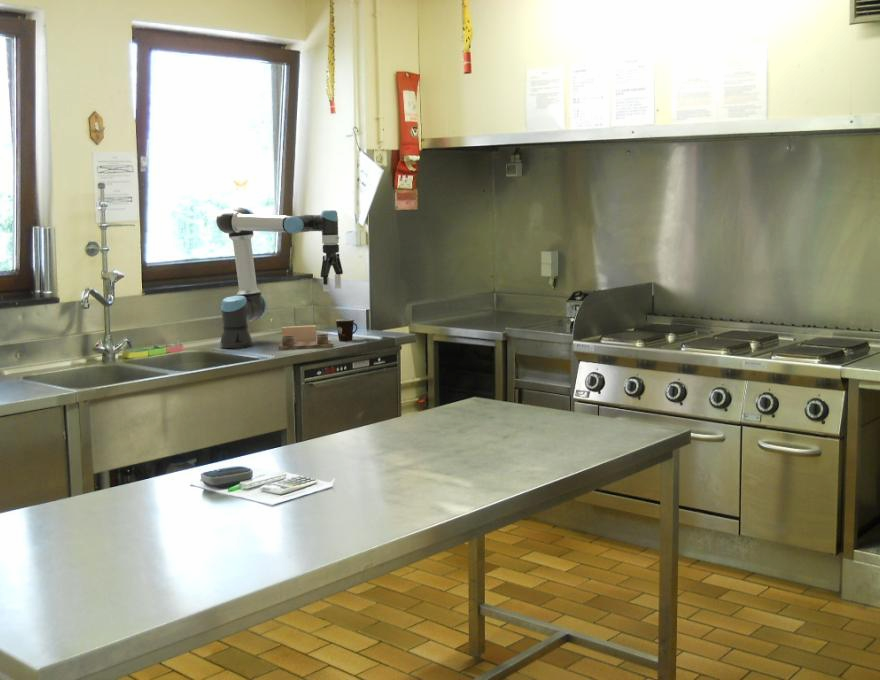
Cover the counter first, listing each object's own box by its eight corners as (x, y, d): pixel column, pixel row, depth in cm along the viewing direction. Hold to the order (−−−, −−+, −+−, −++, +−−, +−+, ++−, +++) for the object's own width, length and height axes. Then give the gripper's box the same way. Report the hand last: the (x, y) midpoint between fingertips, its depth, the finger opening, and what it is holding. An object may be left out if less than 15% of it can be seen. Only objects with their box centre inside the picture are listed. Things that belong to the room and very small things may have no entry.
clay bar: (282, 344, 489) (282, 327, 488) (283, 343, 492) (282, 326, 490) (316, 342, 491) (315, 326, 489) (316, 341, 494) (315, 325, 492)
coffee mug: (334, 340, 496) (333, 319, 494) (351, 338, 499) (350, 318, 498) (342, 343, 485) (341, 322, 484) (359, 341, 489) (358, 320, 487)
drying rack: (279, 350, 471) (278, 339, 471) (280, 346, 483) (279, 335, 482) (331, 347, 474) (331, 336, 473) (331, 343, 486) (330, 333, 485)
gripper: (327, 246, 461) (329, 293, 464) (348, 242, 484) (350, 287, 488) (311, 246, 463) (313, 292, 467) (333, 242, 487) (335, 286, 490)
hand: (332, 290), depth 477 cm, fingers open, 13 cm apart
